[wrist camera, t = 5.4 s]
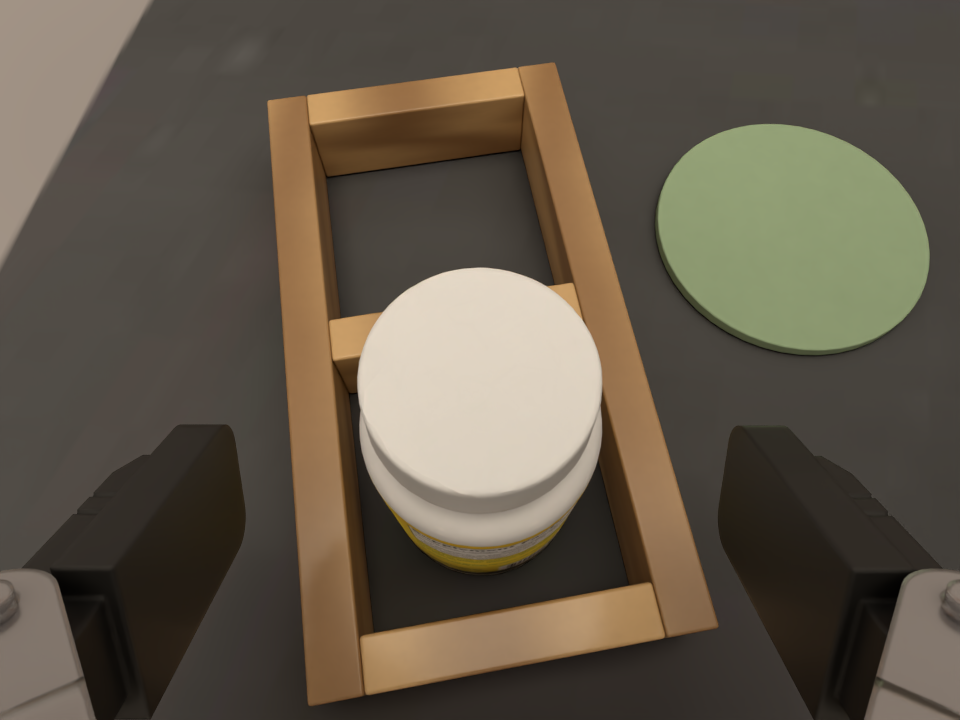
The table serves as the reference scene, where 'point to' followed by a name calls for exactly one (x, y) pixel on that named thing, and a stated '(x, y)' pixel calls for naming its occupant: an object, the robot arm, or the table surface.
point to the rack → (333, 375)
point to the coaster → (791, 239)
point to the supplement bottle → (480, 416)
